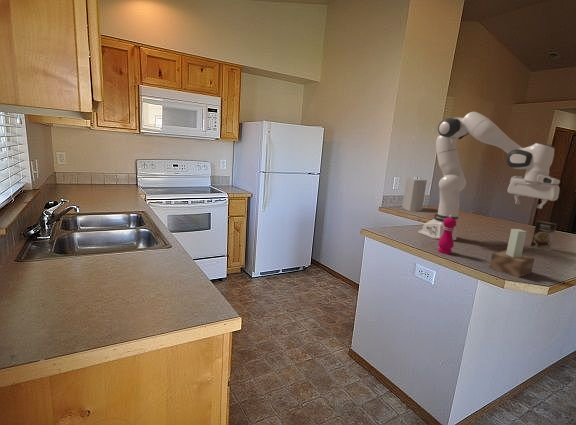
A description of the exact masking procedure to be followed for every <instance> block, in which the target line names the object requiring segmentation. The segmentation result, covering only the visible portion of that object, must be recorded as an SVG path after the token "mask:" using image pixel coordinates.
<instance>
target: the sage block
mask: <svg viewBox="0 0 576 425" xmlns="http://www.w3.org/2000/svg"><path fill="white" fill-rule="evenodd" d="M526 237H527V230H523V229H520V228H511V229H510V233H509V239H508V243H507V247H506V250H505V251H506V255H509V256H511V257H519V258H521V255H523V251H524V246H525V241H526Z"/></svg>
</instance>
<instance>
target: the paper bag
mask: <svg viewBox="0 0 576 425" xmlns="http://www.w3.org/2000/svg"><path fill="white" fill-rule="evenodd" d="M427 181H428V180H427V179H420V178H412V177H411V178H410V177H406V181H405V187H404V188H405V189H404V193H403V194H404V195H403V201H402V208H403V209H405V211H409V212H420V211H421V212H422V211H423V207H424V200H425V196H426V189H427V187H426V186H427Z"/></svg>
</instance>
